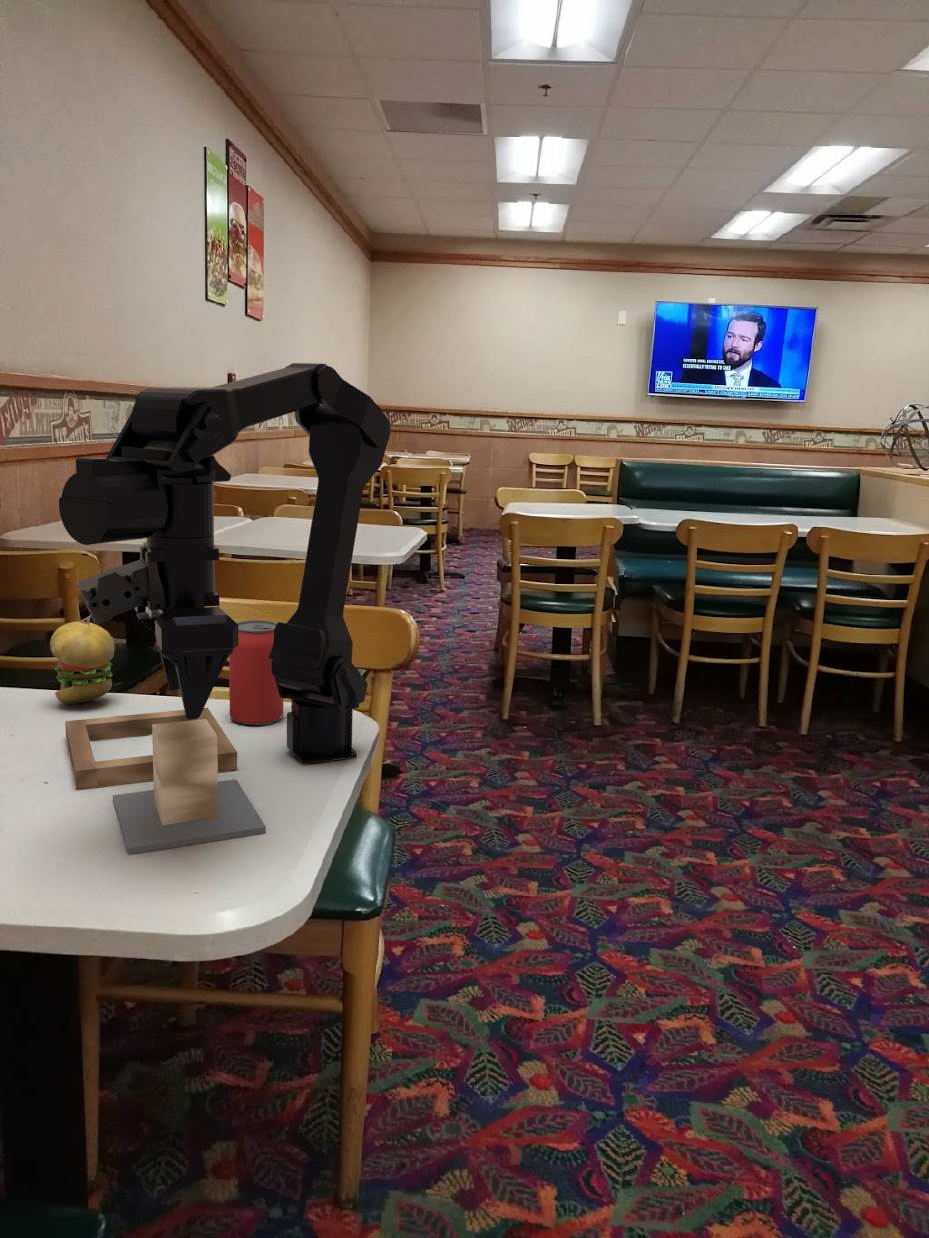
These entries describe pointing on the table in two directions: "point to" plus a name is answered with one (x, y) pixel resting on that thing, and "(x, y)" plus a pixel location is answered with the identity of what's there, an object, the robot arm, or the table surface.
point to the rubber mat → (149, 833)
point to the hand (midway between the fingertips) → (183, 703)
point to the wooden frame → (134, 767)
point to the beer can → (254, 676)
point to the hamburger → (82, 660)
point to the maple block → (185, 771)
